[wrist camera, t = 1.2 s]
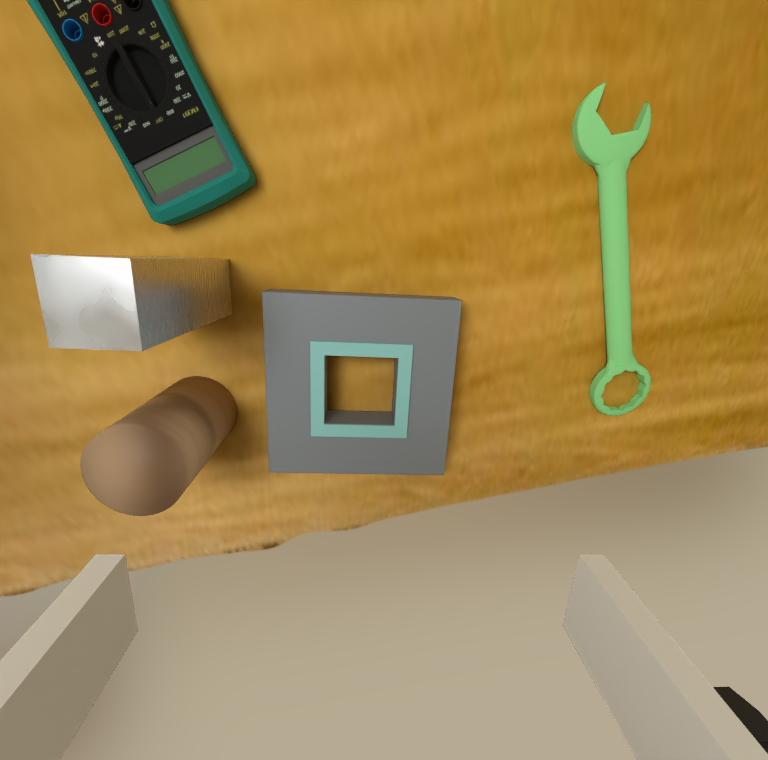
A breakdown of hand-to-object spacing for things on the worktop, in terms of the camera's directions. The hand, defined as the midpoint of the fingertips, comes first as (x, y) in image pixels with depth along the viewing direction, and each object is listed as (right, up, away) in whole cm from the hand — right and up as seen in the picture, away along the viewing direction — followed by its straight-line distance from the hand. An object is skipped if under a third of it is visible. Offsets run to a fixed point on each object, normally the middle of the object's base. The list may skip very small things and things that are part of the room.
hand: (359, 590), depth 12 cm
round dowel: (-14, +4, +21) cm, 25 cm away
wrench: (+19, +15, +20) cm, 31 cm away
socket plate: (-1, +6, +21) cm, 22 cm away
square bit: (-13, +13, +18) cm, 26 cm away
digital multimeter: (-14, +25, +15) cm, 32 cm away
